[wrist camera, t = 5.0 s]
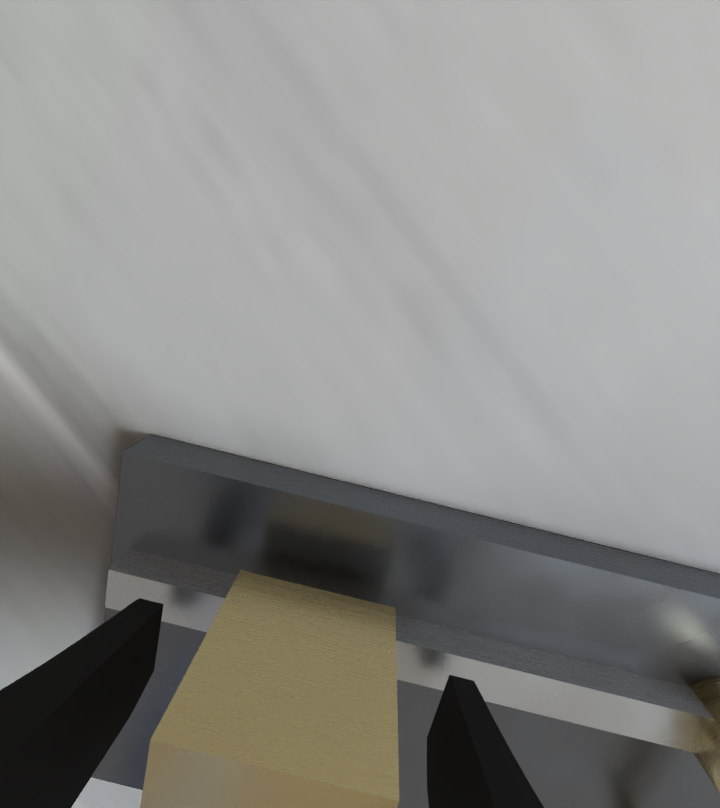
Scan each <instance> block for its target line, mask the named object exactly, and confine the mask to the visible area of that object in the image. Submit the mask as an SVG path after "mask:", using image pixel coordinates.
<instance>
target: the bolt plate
mask: <svg viewBox="0 0 720 808" xmlns="http://www.w3.org/2000/svg"><path fill="white" fill-rule="evenodd" d="M240 570H244V571H248V572H252V573H256V574H260V575H264V576H268V577H272V578H276V579H280V580H284V581H288V582H292V583H296V584H300V585H305V586H309V587H313V588H317V589H321V590H325V591H329V592H333V593H337V594H341V595H345V596H349V597H353V598H357V599H361V600H365V601H369V602H373V603H377V604H381V605H386V606H390V607H394V608H395V609H396V659H397V709H398V759H399V804H398V807H397V808H429V803H428V793H427V736H428V733H429V730H430V728H431V725H432V722H433V719H434V716H435V714H436V711H437V708H438V705H439V702H440V700H441V697H442V694H443V691H444V688H445V686H446V683H447V680H448V677H449V675H453V676H457V677H461V678H465V679H469V680H473V681H474V682H475V684H476V686H477V687H478V689H479V691H480V693H481V695H482V697H483V699H484V701H485V703H486V705H487V706H488V708H489V710H490V712H491V714H492V716H493V718H494V720H495V722H496V724H497V725H498V727H499V729H500V731H501V733H502V735H503V737H504V739H505V740H506V742H507V744H508V746H509V748H510V750H511V751H512V753H513V755H514V757H515V759H516V760H517V762H518V764H519V766H520V767H521V769H522V771H523V773H524V774H525V776H526V778H527V780H528V781H529V783H530V785H531V787H532V788H533V790H534V792H535V793H536V795H537V797H538V798H539V800H540V802H541V803H542V805H543V807H544V808H720V574H716V573H712V572H708V571H704V570H700V569H696V568H692V567H687V566H683V565H679V564H675V563H671V562H667V561H663V560H659V559H655V558H651V557H647V556H643V555H639V554H635V553H631V552H627V551H623V550H618V549H614V548H610V547H606V546H602V545H598V544H594V543H590V542H586V541H582V540H578V539H574V538H570V537H566V536H562V535H558V534H553V533H549V532H545V531H541V530H537V529H533V528H529V527H525V526H521V525H517V524H513V523H509V522H505V521H501V520H497V519H493V518H489V517H484V516H480V515H476V514H472V513H468V512H464V511H460V510H456V509H452V508H448V507H444V506H440V505H436V504H432V503H428V502H424V501H420V500H415V499H411V498H407V497H403V496H399V495H395V494H391V493H387V492H383V491H379V490H375V489H371V488H367V487H363V486H359V485H355V484H351V483H346V482H342V481H338V480H334V479H330V478H326V477H322V476H318V475H314V474H310V473H306V472H302V471H298V470H294V469H290V468H286V467H282V466H277V465H273V464H269V463H265V462H261V461H257V460H253V459H249V458H245V457H241V456H237V455H233V454H229V453H225V452H221V451H217V450H213V449H208V448H204V447H200V446H196V445H192V444H188V443H184V442H180V441H176V440H172V439H168V438H164V437H160V436H156V435H152V434H151V435H149V436H148V437H146V438H144V439H143V440H141V441H139V442H138V443H136V444H134V445H133V446H131V447H129V448H128V449H126V450H125V451H123V452H122V461H121V471H120V480H119V490H118V499H117V509H116V518H115V528H114V537H113V547H112V556H111V566H110V569H109V571H108V580H107V590H106V599H105V607H106V613H105V622H106V621H107V620H109V619H110V618H111V617H113V616H114V615H116V614H117V613H118V612H120V611H121V610H123V609H124V608H125V607H127V606H128V605H130V604H131V603H132V602H134V601H135V600H137V599H139V598H141V599H145V600H149V601H153V602H157V603H161V604H164V605H163V612H162V619H161V626H160V633H159V640H158V647H157V654H156V661H155V667H154V672H153V674H152V675H151V677H150V679H149V681H148V683H147V685H146V687H145V689H144V691H143V693H142V695H141V697H140V699H139V701H138V703H137V705H136V706H135V708H134V710H133V712H132V714H131V716H130V717H129V719H128V721H127V722H126V724H125V725H124V727H123V728H122V730H121V731H120V733H119V735H118V736H117V738H116V739H115V741H114V742H113V744H112V745H111V747H110V748H109V750H108V752H107V753H106V755H105V756H104V758H103V759H102V761H101V762H100V764H99V765H98V767H97V768H96V770H95V772H94V773H93V775H92V776H91V777H93V778H97V779H101V780H105V781H109V782H113V783H117V784H121V785H125V786H129V787H133V788H137V789H141V790H143V786H144V779H145V773H146V766H147V759H148V753H149V746H150V740H151V738H152V736H153V734H154V732H155V730H156V728H157V726H158V724H159V723H160V721H161V719H162V717H163V715H164V713H165V711H166V709H167V708H168V706H169V704H170V702H171V700H172V698H173V696H174V694H175V692H176V691H177V689H178V687H179V685H180V683H181V681H182V679H183V677H184V675H185V674H186V672H187V670H188V668H189V666H190V664H191V662H192V660H193V658H194V657H195V655H196V653H197V651H198V649H199V647H200V645H201V643H202V641H203V640H204V638H205V636H206V634H207V632H208V630H209V628H210V626H211V624H212V623H213V621H214V619H215V617H216V615H217V613H218V611H219V609H220V608H221V606H222V604H223V602H224V600H225V598H226V596H227V594H228V592H229V591H230V589H231V587H232V585H233V583H234V581H235V579H236V577H237V575H238V574H239V572H240Z"/></svg>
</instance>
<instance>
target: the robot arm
mask: <svg viewBox="0 0 720 808" xmlns="http://www.w3.org/2000/svg"><path fill="white" fill-rule="evenodd" d="M163 605H164V604H161V603H157V602H153V601H149V600H145V599H141V598H139V599H137V600H135V601H134V602H132V603H131V604H130V605H128V606H127V607H125V608H124V609H123V610H121V611H120V612H118V613H117V614H116V615H114V616H113V617H111V618H110V619H109V620H107V621H106V622H104V623H103V624H102V625H100V626H99V627H97V628H96V629H94V630H93V631H92V632H90V633H89V634H87V635H86V636H84V637H83V638H82V639H80V640H79V641H77V642H76V643H74V644H73V645H71V646H70V647H68V648H67V649H65V650H64V651H62V652H61V653H59V654H58V655H56V656H55V657H53V658H52V659H50V660H49V661H47V662H45V663H44V664H42V665H41V666H39V667H38V668H36V669H34V670H33V671H31V672H29V673H28V674H26V675H25V676H23V677H21V678H20V679H18V680H16V681H15V682H13V683H12V684H10V685H8V686H7V687H5V688H3V689H2V690H0V808H71V807H72V805H73V804H74V802H75V801H76V799H77V798H78V796H79V794H80V793H81V791H82V790H83V788H84V787H85V785H86V784H87V782H88V781H89V779H90V778H91V776H92V775H93V773H94V772H95V770H96V768H97V767H98V765H99V764H100V762H101V761H102V759H103V758H104V756H105V755H106V753H107V752H108V750H109V748H110V747H111V745H112V744H113V742H114V741H115V739H116V738H117V736H118V735H119V733H120V731H121V730H122V728H123V727H124V725H125V724H126V722H127V721H128V719H129V717H130V716H131V714H132V712H133V710H134V708H135V706H136V705H137V703H138V701H139V699H140V697H141V695H142V693H143V691H144V689H145V687H146V685H147V683H148V681H149V679H150V677H151V675H152V674H153V672H154V667H155V661H156V654H157V647H158V640H159V633H160V626H161V619H162V612H163ZM427 793H428V803H429V808H544V807H543V805H542V803H541V802H540V800H539V798H538V797H537V795H536V793H535V792H534V790H533V788H532V787H531V785H530V783H529V781H528V780H527V778H526V776H525V774H524V773H523V771H522V769H521V767H520V766H519V764H518V762H517V760H516V759H515V757H514V755H513V753H512V751H511V750H510V748H509V746H508V744H507V742H506V740H505V739H504V737H503V735H502V733H501V731H500V729H499V727H498V725H497V724H496V722H495V720H494V718H493V716H492V714H491V712H490V710H489V708H488V706H487V705H486V703H485V701H484V699H483V697H482V695H481V693H480V691H479V689H478V687H477V686H476V684H475V682H474V681H473V680H469V679H465V678H461V677H457V676H453V675H449V677H448V680H447V683H446V686H445V688H444V691H443V694H442V697H441V700H440V702H439V705H438V708H437V711H436V714H435V716H434V719H433V722H432V725H431V728H430V730H429V733H428V736H427Z"/></svg>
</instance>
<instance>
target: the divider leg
mask: <svg viewBox="0 0 720 808" xmlns="http://www.w3.org/2000/svg"><path fill="white" fill-rule="evenodd" d="M398 804H399V759H398V709H397V659H396V609H395V608H394V607H390V606H386V605H381V604H377V603H373V602H369V601H365V600H361V599H357V598H353V597H349V596H345V595H341V594H337V593H333V592H329V591H325V590H321V589H317V588H313V587H309V586H305V585H300V584H296V583H292V582H288V581H284V580H280V579H276V578H272V577H268V576H264V575H260V574H256V573H252V572H248V571H244V570H240V572H239V574H238V575H237V577H236V579H235V581H234V583H233V585H232V587H231V589H230V591H229V592H228V594H227V596H226V598H225V600H224V602H223V604H222V606H221V608H220V609H219V611H218V613H217V615H216V617H215V619H214V621H213V623H212V624H211V626H210V628H209V630H208V632H207V634H206V636H205V638H204V640H203V641H202V643H201V645H200V647H199V649H198V651H197V653H196V655H195V657H194V658H193V660H192V662H191V664H190V666H189V668H188V670H187V672H186V674H185V675H184V677H183V679H182V681H181V683H180V685H179V687H178V689H177V691H176V692H175V694H174V696H173V698H172V700H171V702H170V704H169V706H168V708H167V709H166V711H165V713H164V715H163V717H162V719H161V721H160V723H159V724H158V726H157V728H156V730H155V732H154V734H153V736H152V738H151V740H150V746H149V753H148V759H147V766H146V773H145V779H144V786H143V793H142V800H141V806H140V808H397V807H398Z"/></svg>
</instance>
